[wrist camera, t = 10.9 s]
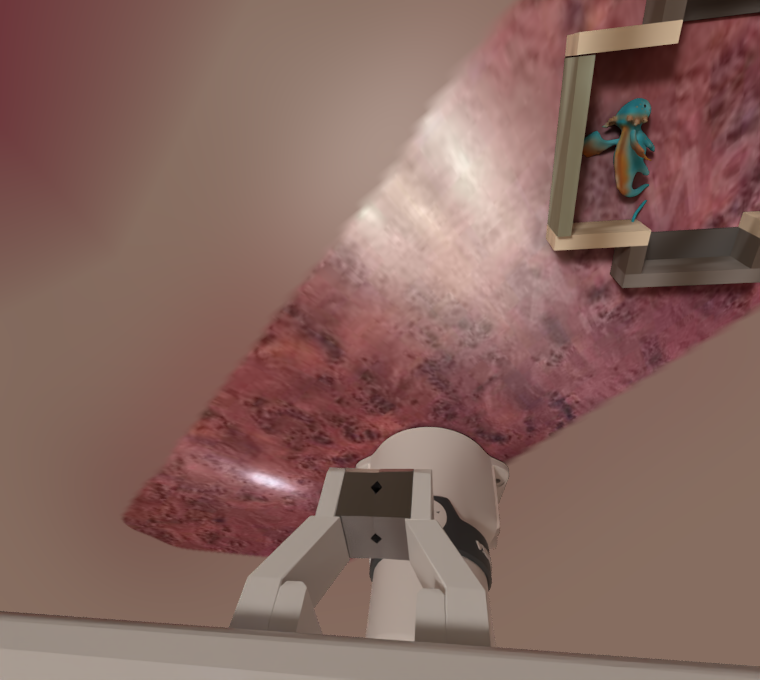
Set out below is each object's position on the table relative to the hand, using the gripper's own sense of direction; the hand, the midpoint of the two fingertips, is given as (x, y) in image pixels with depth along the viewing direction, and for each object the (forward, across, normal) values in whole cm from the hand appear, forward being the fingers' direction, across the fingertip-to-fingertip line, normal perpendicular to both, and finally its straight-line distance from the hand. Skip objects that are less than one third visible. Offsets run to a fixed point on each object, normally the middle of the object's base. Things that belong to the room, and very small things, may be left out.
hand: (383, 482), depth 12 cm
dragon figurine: (+30, +16, +2) cm, 34 cm away
